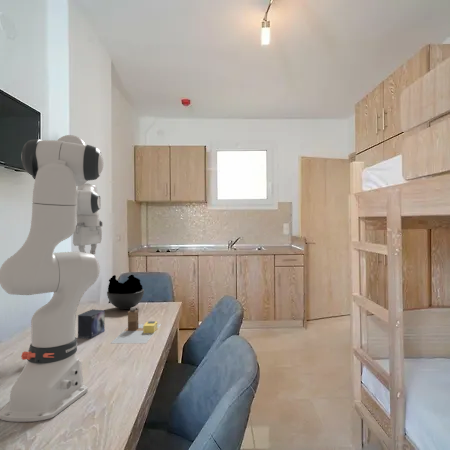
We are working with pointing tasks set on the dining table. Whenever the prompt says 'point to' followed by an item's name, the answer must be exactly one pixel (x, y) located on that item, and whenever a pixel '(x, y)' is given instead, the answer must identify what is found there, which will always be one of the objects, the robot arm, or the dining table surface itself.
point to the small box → (91, 323)
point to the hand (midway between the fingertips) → (88, 255)
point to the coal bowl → (125, 292)
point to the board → (134, 336)
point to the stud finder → (150, 327)
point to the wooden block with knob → (133, 319)
